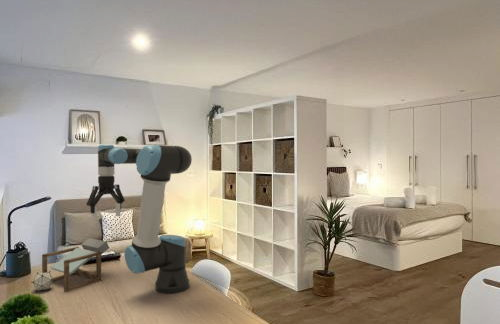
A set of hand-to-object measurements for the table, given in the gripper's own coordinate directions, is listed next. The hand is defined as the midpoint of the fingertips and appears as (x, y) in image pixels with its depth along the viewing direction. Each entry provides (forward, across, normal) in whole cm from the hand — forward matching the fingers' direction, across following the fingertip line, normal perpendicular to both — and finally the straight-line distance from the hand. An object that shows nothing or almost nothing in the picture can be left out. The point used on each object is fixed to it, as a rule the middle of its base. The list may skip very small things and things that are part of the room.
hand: (106, 217), depth 167 cm
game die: (+20, +27, -7) cm, 35 cm away
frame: (+28, +15, -6) cm, 32 cm away
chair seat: (+20, +9, -5) cm, 22 cm away
